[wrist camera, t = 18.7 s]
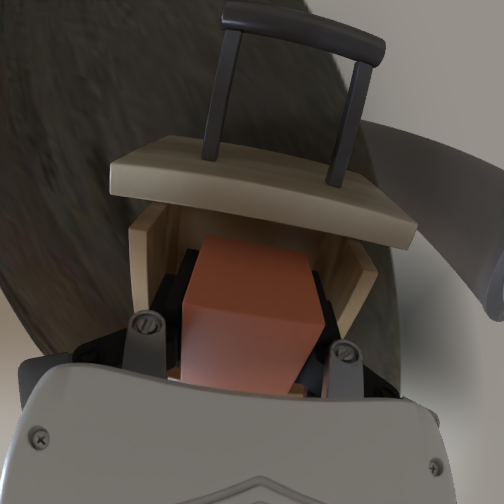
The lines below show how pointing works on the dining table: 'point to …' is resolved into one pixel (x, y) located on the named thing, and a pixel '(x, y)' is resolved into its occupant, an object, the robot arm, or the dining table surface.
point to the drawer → (264, 179)
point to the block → (248, 317)
